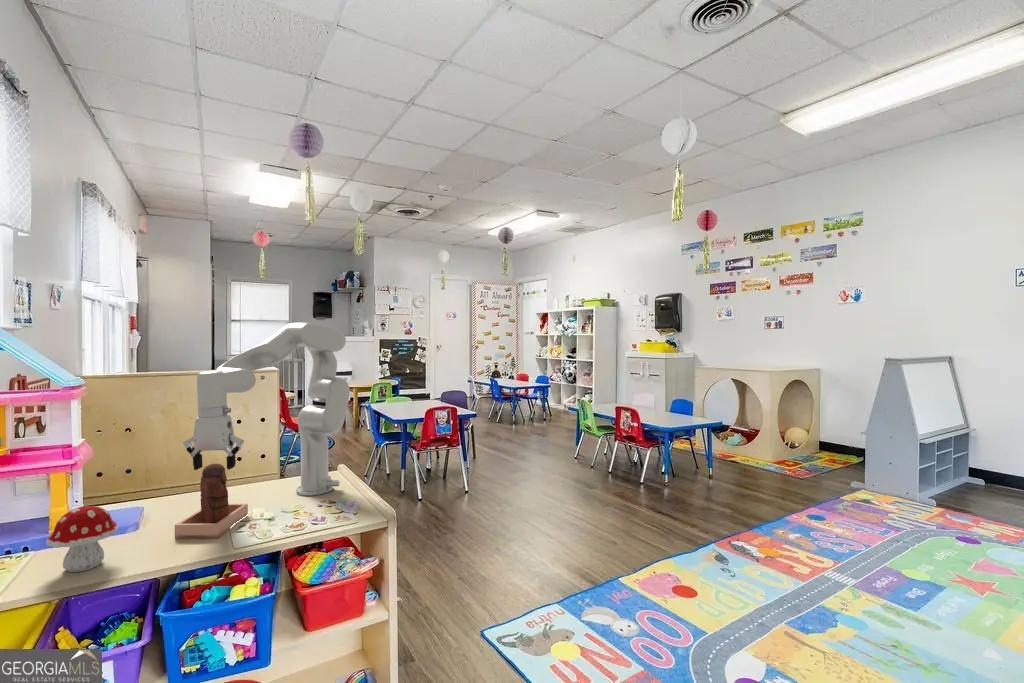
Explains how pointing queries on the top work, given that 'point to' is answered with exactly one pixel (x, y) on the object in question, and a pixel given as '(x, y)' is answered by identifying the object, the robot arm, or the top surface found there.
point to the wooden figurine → (214, 494)
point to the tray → (209, 524)
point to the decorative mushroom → (82, 536)
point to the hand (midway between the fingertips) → (214, 468)
